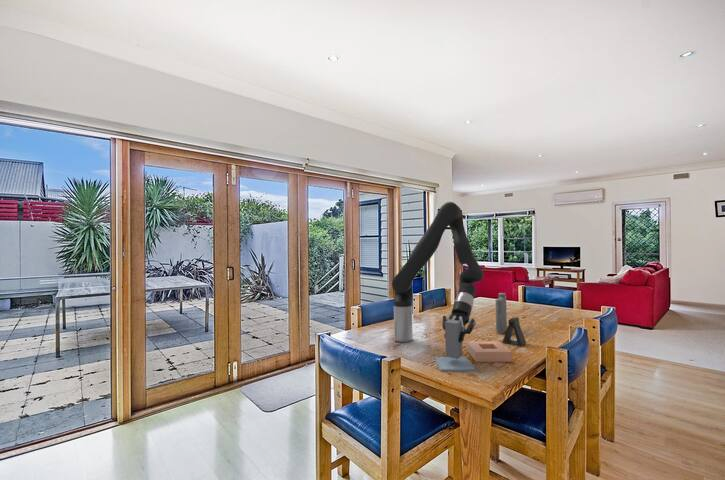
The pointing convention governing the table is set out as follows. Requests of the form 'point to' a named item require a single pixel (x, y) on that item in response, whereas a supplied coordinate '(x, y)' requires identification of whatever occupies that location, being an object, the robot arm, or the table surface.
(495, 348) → the terracotta cradle
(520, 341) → the dark grey triangular frame
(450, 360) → the slate pad
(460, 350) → the charcoal post
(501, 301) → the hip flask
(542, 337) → the table surface
